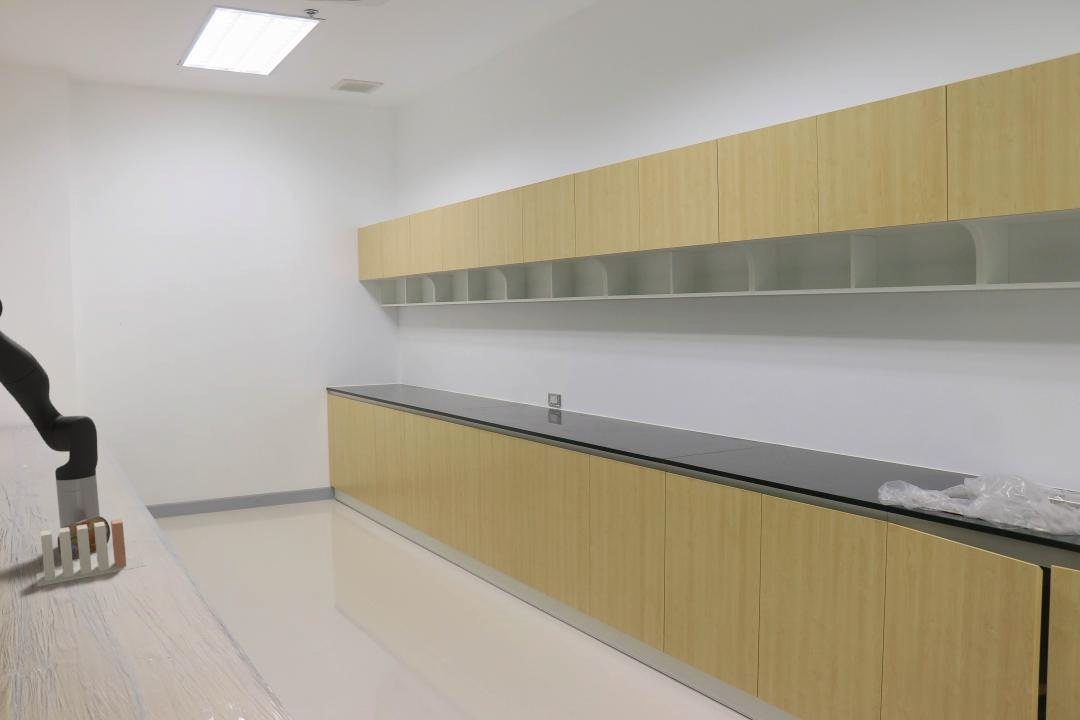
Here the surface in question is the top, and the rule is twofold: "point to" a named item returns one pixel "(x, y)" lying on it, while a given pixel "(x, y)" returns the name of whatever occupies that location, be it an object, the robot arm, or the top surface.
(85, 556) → the domino
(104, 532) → the domino
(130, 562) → the mat
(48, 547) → the domino
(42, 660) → the top surface
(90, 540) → the tin
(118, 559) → the domino
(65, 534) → the domino
